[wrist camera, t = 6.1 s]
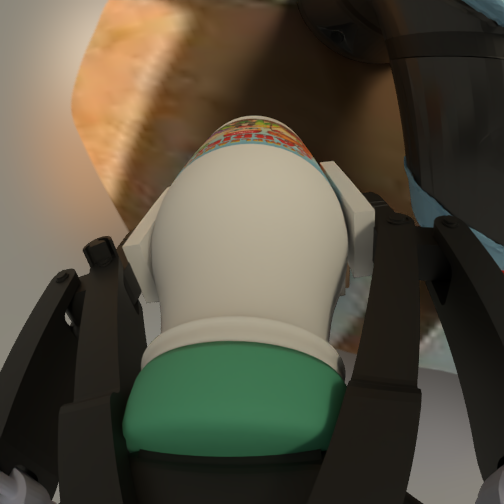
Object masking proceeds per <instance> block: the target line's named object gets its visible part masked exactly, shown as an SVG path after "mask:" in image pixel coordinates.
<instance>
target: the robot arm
mask: <svg viewBox="0 0 504 504" xmlns="http://www.w3.org/2000/svg"><path fill="white" fill-rule="evenodd" d="M297 2H298V7H299V10H300V13H301V15H302V17H303V19H304V21H305V23H306V24H307V26H308V27H309V29H310V30H311V31H312V32H313V34H314V35H315V36H316V37H317V38H318V39H319V40H320V41H321V42H322V43H324V44H325V45H326V46H327V47H329V48H330V49H332V50H333V51H335V52H337V53H338V54H340V55H342V56H344V57H347V58H349V59H352V60H355V61H359V62H363V63H370V64H382V63H390V66H391V70H392V74H393V79H394V84H395V89H396V94H397V99H398V105H399V110H400V117H401V123H402V130H403V137H404V145H405V154H406V156H405V157H404V167H405V171H406V174H407V176H408V180H409V188H410V196H411V205H412V209H413V212H414V215H415V217H416V219H417V221H418V223H419V225H420V226H421V227H418V226H415V225H414V221H413V219H412V218H411V217H409V216H407V215H404V214H400V213H395V212H394V211H393V210H392V209H391V208H390V206H389V205H388V204H387V203H386V202H385V201H384V200H383V199H382V198H381V197H380V196H379V195H377V194H375V193H373V192H368V193H361V192H360V191H359V190H358V189H357V188H356V186H355V185H354V184H353V183H352V182H351V180H350V179H349V178H348V177H347V176H346V175H345V173H344V172H343V171H342V170H341V169H340V168H339V167H338V165H337V164H336V163H335V162H334V161H329V162H320V168H321V170H322V171H323V173H324V174H325V176H326V178H327V179H328V181H329V183H330V185H331V187H332V189H333V191H334V193H335V195H336V197H337V199H338V201H339V203H340V206H341V209H342V212H343V216H344V219H345V223H346V228H347V235H348V264H349V267H350V269H351V271H352V274H353V276H354V278H357V277H363V276H370V275H372V280H371V286H370V293H369V298H368V304H367V310H366V315H365V320H364V325H363V330H362V335H361V340H360V344H359V349H358V353H357V358H356V362H355V366H354V370H353V374H352V378H351V380H350V381H349V383H348V385H347V389H346V392H345V395H344V399H343V402H342V406H341V409H340V412H339V416H338V419H337V422H336V425H335V429H334V432H333V435H332V438H331V441H330V444H329V447H328V449H327V451H321V449H317V450H311V451H304V452H299V453H291V454H280V455H266V456H245V457H215V456H191V455H178V454H169V453H160V452H154V451H148V450H143V449H140V450H139V451H137V452H133V453H130V452H129V451H128V449H127V445H126V439H125V437H124V435H123V428H122V422H123V417H124V413H125V409H126V405H127V401H128V398H129V396H130V393H131V390H132V388H133V385H134V382H135V380H136V378H137V376H138V374H139V373H140V372H141V361H142V357H143V354H144V352H145V350H146V348H147V343H146V335H145V328H144V320H143V311H142V306H141V304H140V302H139V300H138V298H139V296H140V294H141V292H142V294H143V296H144V298H145V300H146V302H147V303H150V302H160V301H159V297H158V292H157V288H156V284H155V280H154V275H153V268H152V235H153V230H154V225H155V220H156V217H157V214H158V211H159V209H160V206H161V204H162V201H163V199H164V197H165V195H166V193H167V191H168V190H169V188H170V187H167V189H166V190H165V191H164V192H163V194H162V195H161V196H160V197H159V199H158V200H157V201H156V202H155V204H154V205H153V206H152V207H151V209H150V210H149V211H148V213H147V214H146V215H145V217H144V218H143V219H142V221H141V222H140V223H139V224H138V226H137V227H136V228H135V229H133V230H132V231H131V232H129V233H128V234H127V235H126V237H125V238H124V239H123V241H122V242H121V243H120V245H119V246H118V247H117V249H116V248H115V246H114V243H113V241H112V239H111V237H109V236H104V237H100V238H97V239H95V240H93V241H91V242H90V243H88V244H87V245H86V246H85V247H84V248H83V252H84V254H85V257H86V258H87V261H88V263H89V265H90V267H91V268H90V273H89V274H87V275H84V276H81V277H78V275H77V273H76V271H75V270H74V269H67V270H62V271H61V272H59V273H58V274H57V275H56V276H55V277H54V278H53V279H52V280H51V282H50V283H49V285H48V286H47V288H46V290H45V291H44V293H43V294H42V296H41V298H40V299H39V301H38V302H37V304H36V306H35V308H34V309H33V311H32V313H31V314H30V316H29V318H28V320H27V321H26V323H25V325H24V327H23V329H22V330H21V332H20V334H19V336H18V338H17V340H16V341H15V344H14V345H13V347H12V349H11V351H10V353H9V355H8V357H7V359H6V361H5V363H4V366H3V368H2V370H1V372H0V504H56V503H55V502H53V501H52V498H53V496H54V494H55V491H56V488H57V485H58V482H59V492H60V503H59V504H423V503H421V502H420V501H418V500H417V499H416V498H414V497H413V496H412V495H410V494H409V493H408V492H406V490H407V485H408V481H409V476H410V472H411V467H412V462H413V457H414V452H415V446H416V440H417V433H418V426H419V418H420V410H421V395H422V393H421V389H418V388H417V379H418V365H419V344H420V291H419V280H425V281H426V285H427V288H428V290H429V293H430V295H431V298H432V300H433V303H434V305H435V308H436V310H437V313H438V316H439V318H440V321H441V324H442V327H443V329H444V332H445V335H446V338H447V341H448V344H449V347H450V350H451V353H452V357H453V360H454V363H455V366H456V370H457V373H458V377H459V380H460V384H461V388H462V391H463V395H464V399H465V404H466V408H467V412H468V417H469V422H470V427H471V432H472V437H473V442H474V448H475V452H476V457H477V461H478V466H479V469H480V472H481V475H482V478H483V480H484V483H483V485H482V486H481V488H480V491H479V494H478V498H477V500H476V502H475V504H504V273H503V272H502V270H504V0H297ZM373 263H374V267H373ZM65 312H66V313H67V315H68V317H69V318H70V320H71V321H72V323H71V325H70V326H69V325H68V324H67V322H66V321H65Z"/></svg>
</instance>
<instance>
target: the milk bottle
mask: <svg viewBox="0 0 504 504" xmlns="http://www.w3.org/2000/svg"><path fill="white" fill-rule="evenodd" d="M347 263H348V235H347V228H346V223H345V219H344V216H343V212H342V209H341V206H340V203H339V201H338V199H337V197H336V195H335V193H334V191H333V189H332V187H331V185H330V183H329V181H328V179H327V178H326V176H325V174H324V173H323V171H322V170H321V168H320V167H319V165H318V163H317V162H316V160H315V159H314V157H313V156H312V154H311V153H310V152H309V150H308V149H307V147H306V146H305V145H304V143H303V142H302V141H301V139H300V138H299V137H298V136H297V135H296V134H295V133H294V132H293V131H292V130H291V129H290V128H289V127H288V126H286V125H285V124H283V123H281V122H279V121H277V120H275V119H272V118H269V117H264V116H244V117H240V118H237V119H234V120H232V121H229V122H228V123H226V124H224V125H223V126H221V127H220V128H219V129H217V130H216V131H215V132H214V133H213V134H212V135H211V136H210V137H209V138H208V140H207V141H206V142H205V143H204V144H203V145H202V146H201V147H200V148H199V150H198V151H197V152H196V153H195V154H194V155H193V157H192V158H191V159H190V160H189V161H188V163H187V164H186V165H185V166H184V168H183V169H182V170H181V171H180V173H179V174H178V176H177V177H176V179H175V180H174V182H173V183H172V185H171V186H170V188H169V190H168V191H167V193H166V195H165V197H164V199H163V201H162V204H161V206H160V209H159V211H158V214H157V217H156V220H155V225H154V230H153V235H152V268H153V275H154V280H155V284H156V288H157V292H158V297H159V301H160V309H161V334H160V335H159V336H157V337H156V338H155V339H154V340H153V341H152V342H151V343H150V344H149V345H148V347H147V348H146V350H145V352H144V354H143V357H142V361H141V372H140V373H139V374H138V376H137V378H136V380H135V382H134V385H133V388H132V390H131V393H130V396H129V398H128V401H127V405H126V409H125V413H124V417H123V422H122V428H123V435H124V437H125V439H126V445H127V449H128V451H129V452H130V453H133V452H137V451H139V450H140V449H143V450H148V451H154V452H160V453H169V454H178V455H191V456H215V457H245V456H266V455H280V454H291V453H299V452H304V451H311V450H317V449H321V451H327V449H328V447H329V444H330V441H331V438H332V435H333V432H334V429H335V425H336V422H337V419H338V416H339V412H340V409H341V406H342V402H343V399H344V395H345V392H346V389H347V386H346V384H345V367H344V364H343V361H342V359H341V357H340V355H339V354H338V352H337V351H336V350H335V349H334V348H333V347H332V346H331V345H330V344H329V337H330V329H331V322H332V317H333V313H334V309H335V307H336V304H337V301H338V298H339V296H340V293H341V290H342V286H343V283H344V280H345V276H346V271H347Z"/></svg>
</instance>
